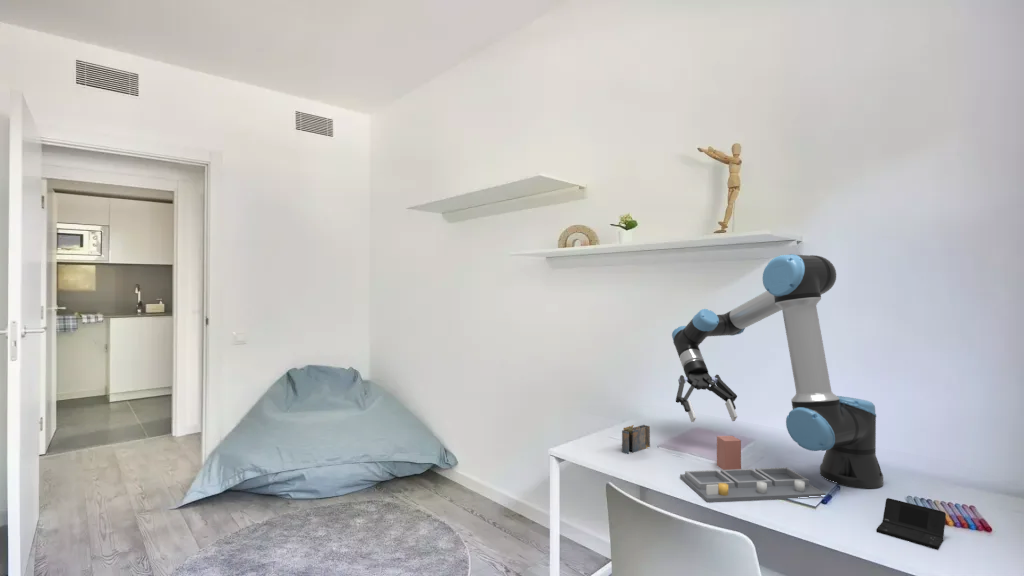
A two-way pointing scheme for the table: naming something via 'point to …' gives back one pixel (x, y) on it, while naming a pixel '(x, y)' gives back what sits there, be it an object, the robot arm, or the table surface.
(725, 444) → the salmon pink square prism
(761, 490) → the grey compartment tray
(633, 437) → the dark grey upright slab
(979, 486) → the table surface
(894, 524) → the handheld gaming console
